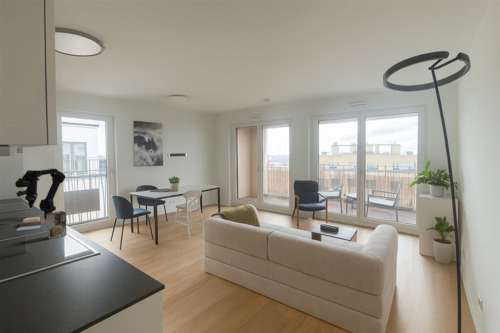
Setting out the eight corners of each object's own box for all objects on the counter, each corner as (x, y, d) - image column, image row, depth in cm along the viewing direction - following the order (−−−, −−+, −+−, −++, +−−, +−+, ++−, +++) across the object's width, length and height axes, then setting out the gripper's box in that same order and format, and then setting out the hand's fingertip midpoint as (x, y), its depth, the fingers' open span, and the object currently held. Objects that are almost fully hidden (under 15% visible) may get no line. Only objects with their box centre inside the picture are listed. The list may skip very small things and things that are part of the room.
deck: (24, 222, 182) (24, 219, 182) (44, 221, 188) (44, 217, 188) (19, 227, 171) (19, 223, 171) (41, 225, 177) (41, 221, 177)
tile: (25, 220, 178) (25, 218, 178) (39, 219, 182) (39, 216, 182) (23, 222, 173) (23, 220, 173) (38, 221, 177) (37, 218, 177)
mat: (19, 227, 171) (19, 227, 171) (41, 225, 177) (41, 225, 177) (16, 231, 164) (16, 230, 164) (38, 228, 171) (38, 228, 171)
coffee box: (63, 233, 162) (62, 210, 161) (66, 235, 159) (66, 212, 158) (46, 237, 155) (45, 213, 154) (49, 239, 151) (49, 214, 150)
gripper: (18, 185, 183) (17, 206, 183) (15, 187, 168) (14, 209, 168) (38, 185, 190) (37, 205, 190) (36, 187, 176) (35, 208, 175)
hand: (31, 207), depth 181 cm, fingers open, 9 cm apart
